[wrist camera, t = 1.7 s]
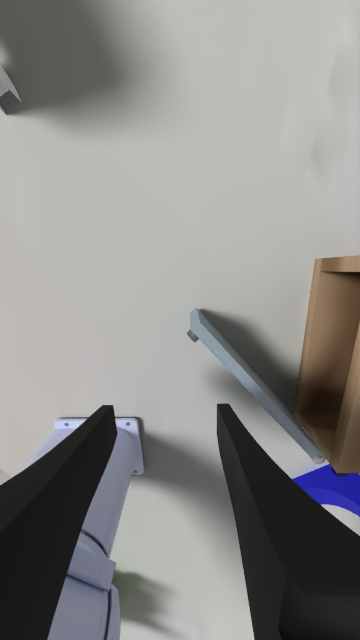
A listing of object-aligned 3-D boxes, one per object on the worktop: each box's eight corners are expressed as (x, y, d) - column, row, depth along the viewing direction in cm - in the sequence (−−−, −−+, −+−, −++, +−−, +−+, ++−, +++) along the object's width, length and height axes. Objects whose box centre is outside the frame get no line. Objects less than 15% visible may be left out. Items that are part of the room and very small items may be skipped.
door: (281, 423, 20) (309, 469, 15) (183, 319, 17) (182, 337, 13) (294, 414, 20) (328, 459, 15) (197, 307, 17) (201, 321, 12)
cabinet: (293, 414, 20) (336, 473, 14) (315, 258, 16) (388, 253, 10) (341, 413, 20) (405, 473, 14) (376, 256, 16) (487, 248, 10)
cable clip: (267, 514, 25) (291, 590, 19) (250, 494, 24) (271, 566, 18) (357, 480, 23) (415, 553, 17) (343, 456, 22) (400, 524, 16)
